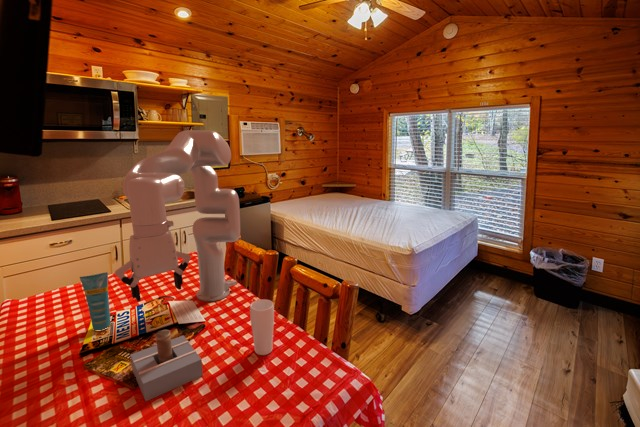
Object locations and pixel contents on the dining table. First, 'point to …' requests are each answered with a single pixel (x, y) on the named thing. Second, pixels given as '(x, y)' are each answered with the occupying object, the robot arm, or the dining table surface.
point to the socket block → (166, 368)
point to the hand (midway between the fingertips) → (158, 293)
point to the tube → (97, 299)
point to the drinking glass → (262, 325)
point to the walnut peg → (164, 346)
